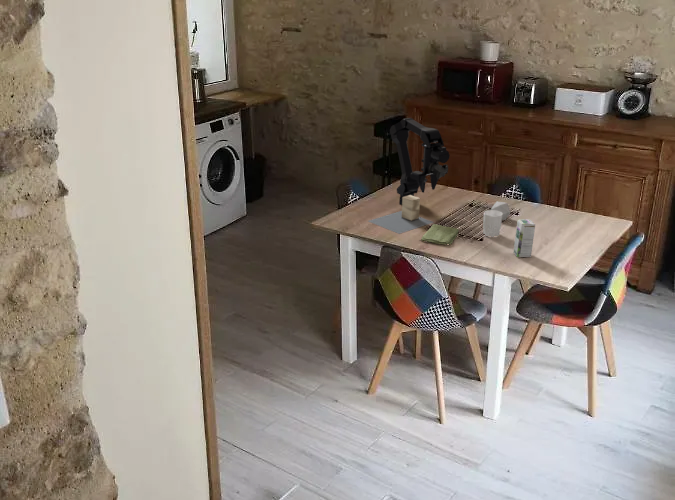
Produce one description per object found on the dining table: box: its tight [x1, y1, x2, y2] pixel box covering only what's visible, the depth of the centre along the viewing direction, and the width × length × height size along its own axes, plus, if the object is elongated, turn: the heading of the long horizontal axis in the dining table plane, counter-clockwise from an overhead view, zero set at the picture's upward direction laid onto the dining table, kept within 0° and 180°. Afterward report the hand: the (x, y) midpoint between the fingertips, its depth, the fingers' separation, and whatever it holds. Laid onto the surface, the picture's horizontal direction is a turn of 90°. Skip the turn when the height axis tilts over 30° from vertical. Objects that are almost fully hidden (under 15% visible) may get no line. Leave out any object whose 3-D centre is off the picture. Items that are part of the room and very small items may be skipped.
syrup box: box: [513, 218, 536, 258], centre depth 280 cm, size 6×6×14 cm
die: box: [490, 200, 511, 221], centre depth 320 cm, size 8×9×10 cm
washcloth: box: [420, 223, 459, 246], centre depth 300 cm, size 13×18×3 cm
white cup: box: [482, 209, 503, 238], centre depth 301 cm, size 8×8×10 cm
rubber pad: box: [367, 210, 435, 235], centre depth 314 cm, size 22×20×1 cm
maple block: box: [401, 195, 421, 222], centre depth 316 cm, size 5×6×10 cm
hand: (428, 191), depth 320 cm, fingers open, 6 cm apart
